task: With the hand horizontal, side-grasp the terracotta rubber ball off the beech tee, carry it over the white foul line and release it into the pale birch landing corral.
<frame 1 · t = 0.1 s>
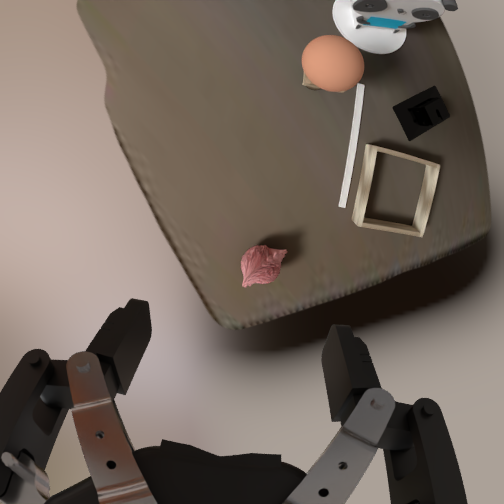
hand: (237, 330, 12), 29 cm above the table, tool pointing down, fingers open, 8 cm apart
corral: (393, 189, 37), on the table
flower: (263, 254, 43), on the table
panda figurine: (368, 20, 27), on the table
foul line: (352, 145, 35), on the table
black slotted stand: (421, 111, 33), on the table
ball: (333, 63, 22), point 11 cm above the table, touching tee
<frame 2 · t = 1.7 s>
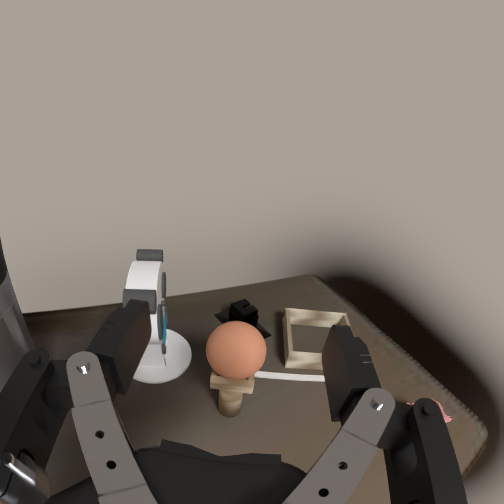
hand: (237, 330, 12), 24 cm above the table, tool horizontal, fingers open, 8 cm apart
corral: (316, 344, 45), on the table
panda figurine: (154, 356, 38), on the table
foul line: (289, 377, 38), on the table
tee: (229, 408, 32), on the table
black slotted stand: (241, 328, 48), on the table
ball: (236, 350, 27), point 11 cm above the table, touching tee
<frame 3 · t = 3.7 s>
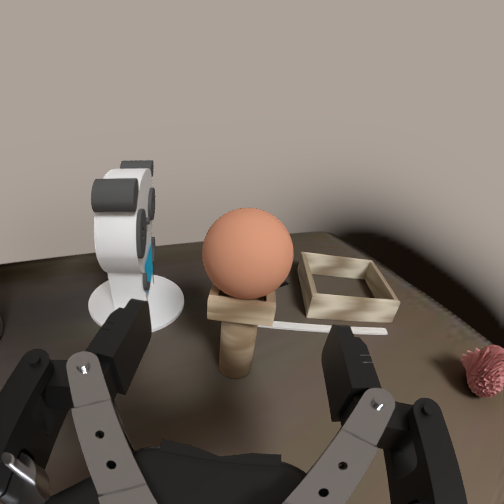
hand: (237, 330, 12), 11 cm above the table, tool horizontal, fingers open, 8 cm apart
corral: (341, 294, 36), on the table
flower: (472, 388, 21), on the table
panda figurine: (135, 304, 30), on the table
foul line: (313, 328, 30), on the table
tee: (234, 366, 24), on the table
ball: (247, 253, 19), point 11 cm above the table, touching tee
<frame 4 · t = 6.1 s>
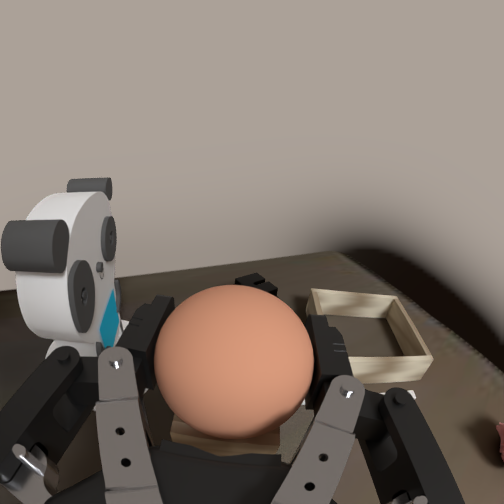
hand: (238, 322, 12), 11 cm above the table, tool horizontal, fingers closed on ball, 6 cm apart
corral: (360, 344, 28), on the table
flower: (503, 455, 12), on the table
panda figurine: (100, 363, 21), on the table
tee: (222, 464, 15), on the table
black slotted stand: (251, 318, 31), on the table
ball: (233, 363, 10), point 11 cm above the table, touching gripper, tee
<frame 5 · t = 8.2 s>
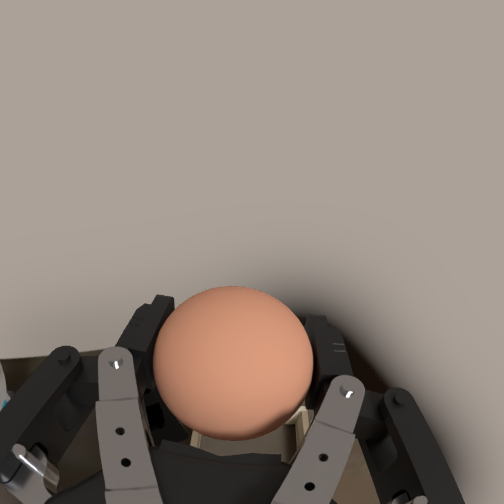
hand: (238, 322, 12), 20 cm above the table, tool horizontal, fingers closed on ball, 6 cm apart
corral: (248, 461, 22), on the table
black slotted stand: (146, 416, 26), on the table
ball: (232, 364, 10), point 20 cm above the table, touching gripper
when the fingers open (8 cm above the table, at t = 10.5 s): ball drops 5 cm, point 3 cm above the table.
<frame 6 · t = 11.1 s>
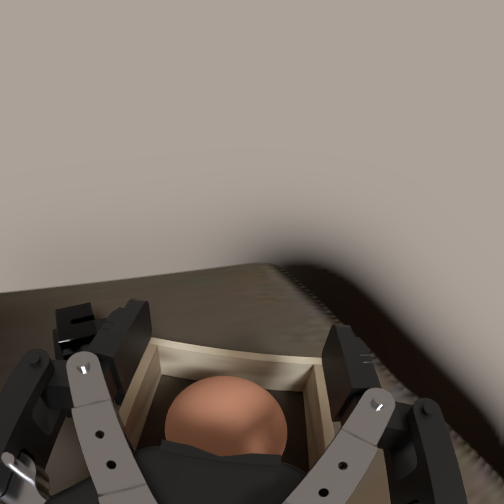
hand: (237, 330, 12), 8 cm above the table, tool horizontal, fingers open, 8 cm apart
corral: (224, 447, 14), on the table
black slotted stand: (90, 367, 18), on the table
ball: (225, 431, 12), point 3 cm above the table, tilted 5°
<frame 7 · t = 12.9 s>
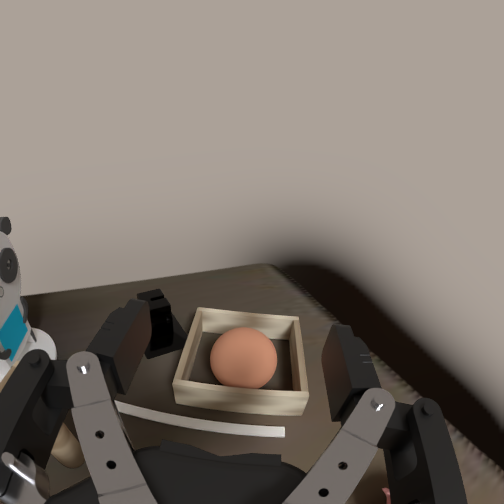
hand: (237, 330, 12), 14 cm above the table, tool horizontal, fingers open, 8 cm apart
corral: (242, 368, 27), on the table
panda figurine: (16, 363, 21), on the table
foul line: (178, 421, 20), on the table
tee: (71, 454, 14), on the table
black slotted stand: (157, 331, 32), on the table
ball: (243, 359, 24), point 3 cm above the table, tilted 29°
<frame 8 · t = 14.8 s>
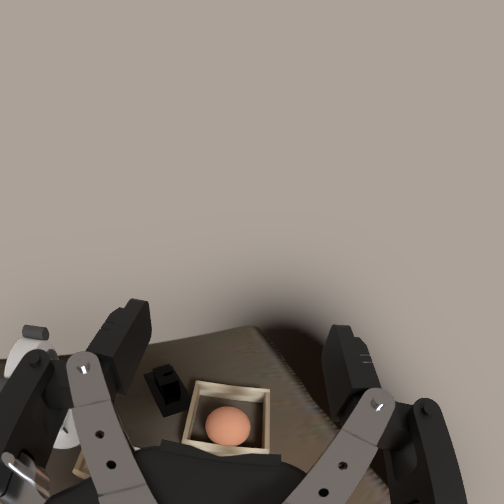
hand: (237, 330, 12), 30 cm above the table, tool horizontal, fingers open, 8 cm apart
corral: (228, 425, 36), on the table
panda figurine: (61, 420, 29), on the table
tee: (117, 486, 23), on the table
black slotted stand: (168, 392, 40), on the table
ball: (227, 426, 33), point 3 cm above the table, tilted 35°
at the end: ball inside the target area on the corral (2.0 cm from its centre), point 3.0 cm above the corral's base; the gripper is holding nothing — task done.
